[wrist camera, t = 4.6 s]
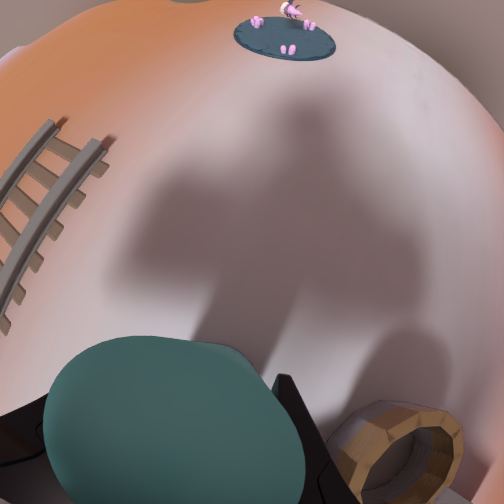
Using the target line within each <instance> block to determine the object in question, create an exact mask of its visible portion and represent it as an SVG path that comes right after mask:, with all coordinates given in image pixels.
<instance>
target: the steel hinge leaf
mask: <svg viewBox="0 0 504 504" xmlns="http://www.w3.org/2000/svg"><path fill="white" fill-rule="evenodd" d="M397 406H416V407H424V406H419V405H415V404H411V403H407V402H393V401H378V402H376V403H374V404H372V405H370V406H368V407H366V408H364V409H361V410H359V411H357V412H355V413H352V414H351V415H350V416H349V418H348V419H347V420H346V421H345V422H344V423H343V424H342V425H341V426H340V427H339V428H338V430H337V431H336V432H335V433H334V434H333V435H332V436H331V437H330V438H329V440H328V444H327V449H328V451H329V453H330V455H331V459H333V460H334V462H335V464H337V461H338V459H339V456H340V453H341V450H342V449H343V448H344V446H345V445H346V444H347V443H348V442H349V441H350V440H351V439H352V438H353V437H354V436H355V435H356V434H357V433H358V431H359V430H360V429H361V428H362V427H363V426H364V425H365V423H366V422H367V421H369V420H371V419H373V418H376V417H378V416H380V415H382V414H383V413H385V412H387V411H389V410H391V409H393V408H395V407H397ZM413 434H414V440H415V444H414V447H413V450H412V453H411V455H410V458H409V461H408V463H407V464H406V465H405V466H404V468H403V469H402V470H401V471H400V472H399V473H398V474H397V475H396V476H395V478H394V479H393V480H391V481H389V482H387V483H385V484H383V485H381V486H379V487H377V488H375V489H373V490H361V492H360V494H361V498H362V503H364V504H378V503H386V502H389V501H391V500H393V499H394V498H396V497H398V496H400V495H401V494H403V493H405V492H407V491H408V490H409V489H410V488H411V487H412V486H413V485H414V484H415V483H416V482H417V480H418V479H419V478H420V477H421V476H422V475H423V473H424V472H425V470H426V468H427V465H428V463H429V460H430V457H431V454H432V452H433V445H432V437H431V431H430V430H429V429H428V428H427V427H418V428H416V429H415V430H413ZM432 502H433V503H435V502H436V503H435V504H473V503H471V502H469V501H468V500H466V499H465V498H463V497H462V496H460V495H459V494H457V493H456V492H454V491H453V490H451V489H450V488H448V487H447V486H445V487H444V488H443V489H442V491H441V492H440V493H439V494H438V495H437V497H436V498H435V499H434V500H433V501H432Z"/></svg>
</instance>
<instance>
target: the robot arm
mask: <svg viewBox="0 0 504 504" xmlns="http://www.w3.org/2000/svg"><path fill="white" fill-rule="evenodd" d="M271 392H272V393H273V394H274V396H275V397H276V398H277V400H278V401H279V402H280V404H281V405H282V406H283V407H284V409H285V410H286V411H287V413H288V415H289V417H290V418H291V420H292V422H293V424H294V425H295V427H296V430H297V432H298V435H299V437H300V440H301V443H302V447H303V452H304V456H305V481H304V488H303V491H302V494H301V497H300V500H299V502H298V504H361V503H360V502H359V500H358V499H357V498H356V496H355V495H354V494H353V492H352V491H351V489H350V488H349V486H348V485H347V483H346V482H345V480H344V479H343V477H342V475H341V474H340V472H339V470H338V468H337V466H336V464H335V462H334V460H333V459H331V455H330V453H329V451H328V449H327V447H326V445H325V443H324V441H323V439H322V437H321V435H320V433H319V431H318V429H317V427H316V425H315V423H314V421H313V419H312V417H311V415H310V413H309V411H308V409H307V407H306V405H305V403H304V401H303V399H302V397H301V395H300V393H299V391H298V389H297V387H296V385H295V383H294V381H293V379H292V377H291V376H290V375H287V374H278V375H277V377H276V379H275V382H274V385H273V387H272V390H271ZM48 394H49V393H47V394H46V395H44V396H42V397H40V398H39V399H37V400H35V401H33V402H31V403H29V404H27V405H25V406H23V407H21V408H18V409H16V410H14V411H12V412H9V413H7V414H5V415H3V416H0V504H74V502H73V501H72V500H71V499H70V497H69V496H68V495H67V493H66V492H65V490H64V489H63V487H62V486H61V484H60V483H59V481H58V479H57V477H56V475H55V473H54V471H53V469H52V466H51V463H50V460H49V458H48V455H47V450H46V446H45V442H44V432H43V416H44V409H45V404H46V400H47V397H48Z"/></svg>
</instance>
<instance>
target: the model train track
mask: <svg viewBox="0 0 504 504" xmlns="http://www.w3.org/2000/svg"><path fill="white" fill-rule="evenodd" d="M59 131H60V130H59V128H57V127H56V125H55V122H54V121H52V120H50V119H48V120H47V122H46V123H45V124H44V125H43V126H42V127H41V128H40V129H39V130H38V132H37V133H36V134H35V135H34V136H33V137H32V138H31V140H30V141H29V142H28V143H27V144H26V146H25V147H24V148H23V149H22V151H21V152H20V153H19V154H18V156H17V157H16V158H15V160H14V161H13V162H12V164H11V165H10V166H9V168H8V169H7V171H6V172H5V173H4V175H3V176H2V178H1V179H0V210H1V208H2V206H3V205H4V203H5V202H6V200H7V199H8V198H9V199H10V200H11V201H12V202H13V203H14V204H15V205H16V206H17V207H18V208H19V209H20V210H21V211H22V212H23V213H24V214H25V215H26V216H27V217H28V218H29V219H30V220H29V222H28V223H27V225H26V226H25V228H24V230H23V231H22V233H21V234H20V233H19V232H18V231H17V230H16V229H15V228H14V227H13V225H12V224H11V223H10V222H9V221H8V220H7V219H6V218H5V216H4V215H3V214H2V213H1V212H0V234H1V236H2V237H3V238H4V239H5V240H6V242H7V243H8V244H9V245H10V246H11V247H12V250H11V252H10V254H9V256H8V258H7V260H6V262H5V264H3V262H2V261H1V260H0V330H1V331H2V333H3V334H4V335H5V336H7V334H8V332H9V329H10V327H11V322H10V321H9V319H8V318H7V317H6V315H5V311H6V309H7V307H8V305H9V302H10V300H11V298H12V299H13V300H14V301H15V302H16V303H17V305H18V306H19V305H21V303H22V301H23V299H24V297H25V295H26V290H25V289H24V288H23V287H22V286H21V285H20V284H19V282H20V280H21V278H22V276H23V274H24V272H25V270H26V268H27V267H28V266H29V268H30V269H31V270H32V271H33V272H34V273H37V272H38V270H39V268H40V266H41V265H42V263H43V261H44V258H43V257H42V256H41V255H40V254H39V253H38V252H37V249H38V247H39V246H40V244H41V242H42V241H43V239H44V237H45V236H46V235H47V236H49V237H50V238H51V239H52V240H53V241H55V240H57V238H58V237H59V235H60V233H61V232H62V230H63V229H64V226H63V225H62V224H61V223H60V222H59V221H57V220H56V219H57V217H58V216H59V214H60V213H61V212H62V210H63V209H64V207H65V206H66V204H69V205H70V206H71V207H73V208H74V209H77V208H78V207H79V206H80V204H81V203H82V201H83V200H84V199H85V197H86V194H84V193H83V192H81V191H80V190H78V188H79V187H80V185H81V184H82V183H83V182H84V180H85V179H86V178H87V176H88V175H89V174H91V175H93V176H95V177H97V178H100V177H102V175H103V174H104V173H105V172H106V170H107V169H108V168H109V164H107V163H105V162H103V161H101V159H102V158H103V157H104V156H105V155H106V154H107V151H106V150H105V149H103V148H102V146H101V145H102V142H101V141H98V140H96V139H94V138H92V139H91V140H90V141H89V142H88V143H87V145H86V146H85V147H84V148H83V149H82V150H80V149H78V148H76V147H74V146H72V145H70V144H68V143H66V142H64V141H62V140H60V139H58V138H56V137H55V136H56V135H57V133H58V132H59ZM44 148H46V149H47V150H49V151H51V152H53V153H54V154H56V155H58V156H60V157H61V158H63V159H65V160H67V161H68V162H70V165H69V166H68V167H67V168H66V170H65V171H64V172H63V173H62V175H61V176H60V177H59V176H57V175H56V174H54V173H53V172H51V171H50V170H48V169H47V168H45V167H44V166H42V165H41V164H39V163H38V162H36V161H35V160H36V158H37V157H38V156H39V155H40V153H41V152H42V151H43V150H44ZM25 173H27V174H28V175H29V176H31V177H32V178H33V179H35V180H36V181H37V182H39V183H40V184H41V185H43V186H44V187H45V188H47V189H48V190H49V192H48V193H47V195H46V196H45V198H44V199H43V200H42V202H41V203H40V205H38V204H37V203H36V202H35V201H34V200H32V199H31V198H30V197H29V196H28V195H27V194H26V193H24V192H23V191H22V190H21V189H20V188H19V187H18V186H17V184H18V182H19V181H20V179H21V178H22V177H23V175H24V174H25Z"/></svg>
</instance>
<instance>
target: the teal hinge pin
mask: <svg viewBox="0 0 504 504" xmlns="http://www.w3.org/2000/svg"><path fill="white" fill-rule="evenodd" d="M43 432H44V442H45V446H46V450H47V455H48V458H49V460H50V463H51V466H52V469H53V471H54V473H55V475H56V477H57V479H58V481H59V483H60V484H61V486H62V487H63V489H64V490H65V492H66V493H67V495H68V496H69V497H70V499H71V500H72V501H73V502H74V504H298V502H299V500H300V497H301V494H302V491H303V488H304V481H305V456H304V452H303V447H302V443H301V440H300V437H299V435H298V432H297V430H296V427H295V425H294V424H293V422H292V420H291V418H290V417H289V415H288V413H287V411H286V410H285V409H284V407H283V406H282V405H281V404H280V402H279V401H278V400H277V398H276V397H275V396H274V394H273V393H272V392H271V391H270V389H269V388H268V387H267V385H266V384H265V383H264V381H263V380H262V379H261V377H260V376H259V375H258V373H257V372H256V371H255V369H254V368H253V367H252V365H251V364H250V362H249V361H248V360H247V359H246V357H245V356H244V355H243V354H241V353H240V352H239V351H237V350H236V349H234V348H232V347H229V346H226V345H222V344H213V343H204V342H196V341H188V340H180V339H173V338H165V337H157V336H129V337H121V338H116V339H112V340H108V341H105V342H101V343H99V344H97V345H94V346H92V347H90V348H88V349H86V350H85V351H83V352H82V353H80V354H78V355H77V356H75V357H74V358H73V359H72V360H71V361H70V362H69V363H68V364H67V365H66V366H65V367H64V368H63V369H62V371H61V372H60V373H59V374H58V376H57V377H56V379H55V381H54V383H53V384H52V386H51V388H50V391H49V394H48V397H47V400H46V404H45V409H44V416H43Z"/></svg>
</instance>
